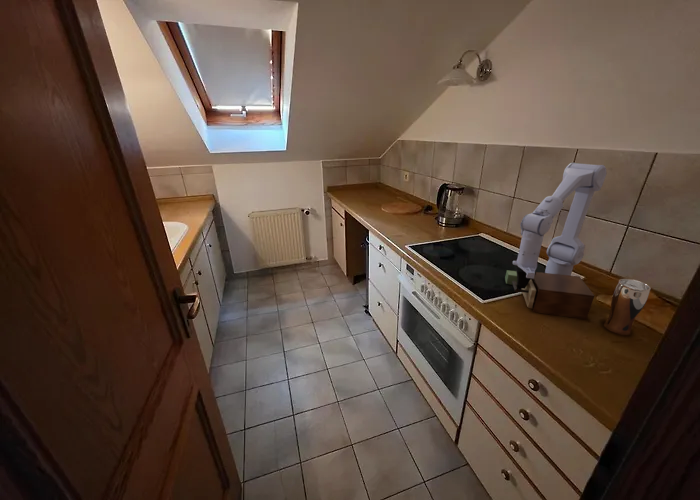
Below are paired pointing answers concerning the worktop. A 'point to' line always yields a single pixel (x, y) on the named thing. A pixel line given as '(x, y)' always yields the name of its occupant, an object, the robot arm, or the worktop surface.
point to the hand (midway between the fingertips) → (521, 287)
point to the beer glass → (626, 305)
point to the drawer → (527, 292)
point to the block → (510, 277)
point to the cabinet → (562, 295)
